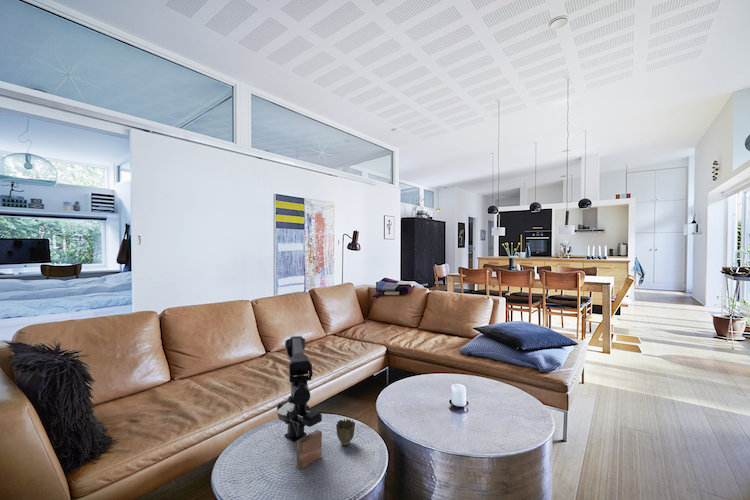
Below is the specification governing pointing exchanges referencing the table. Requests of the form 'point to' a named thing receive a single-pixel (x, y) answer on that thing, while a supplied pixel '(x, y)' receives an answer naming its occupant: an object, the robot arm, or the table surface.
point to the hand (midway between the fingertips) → (298, 435)
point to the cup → (345, 431)
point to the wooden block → (309, 449)
